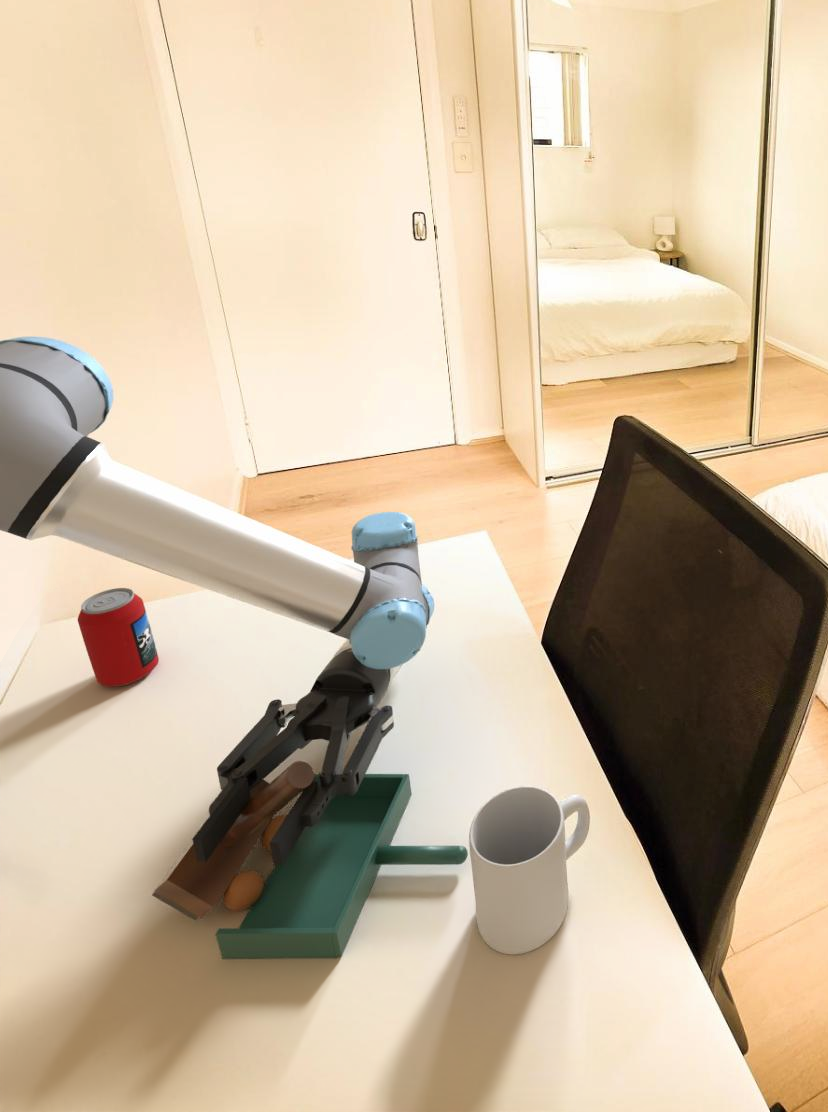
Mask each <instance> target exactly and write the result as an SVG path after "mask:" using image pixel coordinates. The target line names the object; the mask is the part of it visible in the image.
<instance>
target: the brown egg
mask: <svg viewBox="0 0 828 1112" xmlns="http://www.w3.org/2000/svg"><path fill="white" fill-rule="evenodd" d="M263 886H264V879H263V876H262V875H261V873H259V872H258V871H256V870H253V869H246V870H243V871H240V872H237V874H236V875H235V877H234V879H233V880H232V882H231V883H230V885H229V886H228V888H227V889H226V891H225V893H224V894H223V896H222V897H223V899H222V900H223V904H224V905H225V906H226V908H227V909H229V910H231V911H234V912H240V911H245V910H247V909H249V908H251V907H252V905H253V904H254V903H255V902H256V901H257V900H258V898H259V897H260V895H261V893H262V890H263Z"/></svg>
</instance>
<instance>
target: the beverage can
mask: <svg viewBox="0 0 828 1112" xmlns="http://www.w3.org/2000/svg"><path fill="white" fill-rule="evenodd" d="M149 620H150V619H149V618H148V614H147V610H146V607H145V603H144V600H143V598H142V597H140V596H139V595H137V594H136V593H135V592H134V591H133V589H131V588H128V587H116V588H110V589H106V590H104V591H100V592H98V593H96V594H93V595H92V596H90V597H88V598H86V599H84V601H83V602H82V604H81V606H80V612H79V613H78V616H77V623H78V627H79V630H80V633H81V636H82V640H83V643H84V646H85V651H86V653H87V656H88V658H89V661H90V665H91V668H92V672H93V674H94V678H95V680H96V682H97V683H98V684H99V685H101V686H103V687H104V686H105V687H121V686H127V685H130V684H132V683H135V682H138V681H140V680H142V679H143V678H145V677H146V676H147V675H149V674H150V673H151V672H152V671H153V670H154V669H155V668H156V667H157V666H158V664H159V661H160V659H159V655H158V651H157V646H156V642H155V638H154V635H153V631H152V628H151V624H150V621H149Z"/></svg>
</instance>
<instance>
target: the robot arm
mask: <svg viewBox="0 0 828 1112" xmlns="http://www.w3.org/2000/svg"><path fill="white" fill-rule="evenodd" d="M113 389H114V388H113V384H112V382H111V379H110V377H109V375H108V373H107V372H106V370H105V369H104V367H103V366H102V365H101V364H100V363H99V362H98V361H97V359H95V358H94V357H93V356H92V355H90V354H89V353H87V352H86V351H84V350H82V349H81V348H79V347H77V346H75V345H73V344H71V343H68V342H65V341H62V340H59V339H55V338H50V337H46V336H45V337H44V336H20V337H13V338H9V339H3V340H0V531H2V532H5V533H8V534H10V535H14V536H17V537H20V538H23V539H25V540H28V541H34V540H37V539H41V538H46V537H49V536H54V537H59V538H61V539H64V540H67V541H69V542H73V543H75V544H79V545H81V546H84V547H87V548H89V549H93V550H95V551H98V552H101V553H104V554H107V555H109V556H112V557H116V558H118V559H121V560H124V561H127V562H130V563H133V564H135V565H138V566H141V567H144V568H147V569H149V570H152V571H155V572H158V573H161V574H164V575H167V576H169V577H172V578H175V579H178V580H181V581H183V582H187V583H189V584H192V585H195V586H198V587H201V588H203V589H206V590H209V591H211V592H215V593H217V594H220V595H223V596H226V597H228V598H231V599H235V600H237V601H240V602H243V603H246V604H249V605H252V606H254V607H257V608H260V609H263V610H264V611H265V610H266V611H267V612H271V613H274V614H276V615H280V616H283V617H285V618H288V619H290V620H294V621H297V622H299V623H302V624H305V625H307V626H311V627H314V628H316V629H319V630H323V631H325V632H328V633H330V634H333V635H335V636H337V637H341V638H344V639H346V640H344V642H343V643H342V644H341V646H340V647H339V648H338V650H337V651H336V652H335V654H334V655H333V657H332V658H331V659H330V661H329V662H328V663H327V665H325V666H324V668H323V669H322V671H321V672H320V673H319V675H318V676H317V678H316V679H315V681H314V682H313V685H312V687H311V689H310V691H309V692H308V693H307V694H305V695H304V696H302V697H301V698H299V700H298V701H297V702H295V703H287V704H283V702H282V700H281V699H273V700H271V701H270V702H269V704H268V706H267V708H266V710H265V713H264V714H263V716H262V717H261V718H260V719H259V720H258V721H257V723H256V724H255V725H254V726H253V727H252V728H251V729H250V730H249V731H248V733H246V735H245V736H243V738H242V739H241V740H240V741H239V743H237V745H236V746H235V747H234V748H233V749H232V750H231V751H230V752H229V753H228V754H227V756H226V757H225V758H224V759H223V760H222V761H221V762H220V763H219V764H218V766H217V767H216V772H217V773H216V774H217V777H218V782H219V789H220V790H221V791H219V794H218V795H217V796H216V797H215V799H214V800H213V801H212V802H211V803H210V805H209V808H208V814H209V816H210V817H209V816H208V817H209V818H208V817H207V819H206V820H207V821H206V820H205V821H206V822H205V821H204V823H203V824H202V825H203V826H202V825H201V827H200V828H199V829H200V830H199V829H198V831H197V832H196V833H195V835H193V837H192V839H193V844H194V848H195V853H196V857H197V861H198V862H206V861H207V860H208V859H209V857H210V856H211V854H212V853H213V852H214V850H215V849H216V847H217V846H218V845H219V843H220V842H221V841H222V839H223V838H224V836H225V835H226V834H227V832H228V831H229V830H230V828H231V827H232V825H233V824H234V823H235V821H236V820H237V819H238V817H239V816H240V814H241V812H242V810H243V808H244V806H245V805H246V804H247V803H248V802H249V801H250V800H251V795H250V790H252V789H253V788H254V787H255V786H256V785H257V784H258V783H260V782H261V781H262V780H264V779H265V778H267V777H268V775H270V774H271V773H272V772H274V770H276V769H277V768H278V767H279V766H280V765H281V764H282V763H284V761H286V760H287V759H288V758H289V757H290V756H291V755H293V754H294V753H295V752H296V751H297V750H303V749H304V748H305V747H306V746H307V745H309V744H310V743H311V742H312V741H315V740H325V741H328V743H327V747H326V751H325V755H324V760H323V764H322V767H321V772H318V774H319V778H320V784H319V785H318V784H317V782H315V781H312V783H311V784H310V785H309V786H308V787H307V788H305V789H304V790H303V791H302V792H301V793H300V794H299V795H298V798H297V800H296V801H295V803H294V804H293V805H292V807H291V808H290V810H289V812H288V813H287V814H286V815H287V816H286V818H285V819H284V821H283V823H282V824H281V826H280V827H279V829H278V830H277V832H276V833H275V835H274V836H273V838H272V839H271V841H270V847H271V851H270V852H271V853H270V854H271V859H272V863H273V865H274V866H276V865H283V863H284V862H285V860H286V858H287V857H288V855H289V853H290V852H291V850H292V848H293V847H294V845H295V843H296V842H297V840H298V839H299V837H300V835H301V834H302V832H303V830H304V829H305V827H313V826H314V825H315V824H316V823H317V822H318V820H319V819H320V816H321V815H322V813H323V812H324V810H325V808H326V807H327V805H328V803H329V802H330V800H332V799H334V798H335V796H337V795H341V794H344V795H345V796H347V797H349V796H353V795H354V794H355V793H356V792H357V790H358V788H359V786H360V784H361V782H362V780H363V778H364V776H365V774H367V771H368V769H369V767H370V765H371V763H372V760H373V759H374V757H375V755H376V753H377V750H378V749H379V746H380V745H381V742H382V741H383V739H384V738H385V737H386V736H387V735H388V734H389V732H390V731H391V730H393V729H394V727H395V721H394V711H393V706H391V705H384V706H382V707H381V708H378V706H379V705H380V703H381V701H382V700H383V698H384V697H385V695H386V693H387V692H388V689H389V687H390V686H391V685H392V683H393V682H394V680H395V678H396V676H397V674H398V673H399V671H400V670H401V668H402V667H403V665H404V664H406V663H408V662H409V661H410V660H412V659H413V658H414V657H416V655H417V654H418V653H419V652H420V651H421V649H422V647H423V645H424V643H425V640H426V636H427V627H428V625H429V624H430V620H431V618H432V617H433V614H434V611H435V600H434V596H433V595H432V594H431V593H430V592H429V589H428V588H427V586H425V585H424V584H422V583H423V582H422V574H421V565H420V557H419V544H418V539H419V538H418V537H419V536H418V535H417V531H416V523H415V521H414V519H413V518H412V517H411V516H410V515H408V514H407V513H404V512H399V511H383V512H377V513H372V514H369V515H367V516H365V517H363V518H361V519H360V520H358V521H357V522H356V523H355V524H354V525H353V527H352V529H351V551H352V555H353V561H352V560H350V559H347V558H345V557H342V556H340V555H337V554H336V553H333V552H331V551H329V550H326V549H324V548H321V547H319V546H317V545H314V544H313V543H310V542H307V541H305V540H302V539H300V538H297V537H295V536H293V535H290V534H288V533H286V532H283V531H281V530H278V529H276V528H274V527H272V526H269V525H267V524H264V523H262V522H259V521H258V520H255V519H252V518H250V517H248V516H245V515H243V514H240V513H238V512H236V511H234V510H231V509H229V508H226V507H225V506H221V505H219V504H217V503H215V502H212V501H210V500H207V499H205V498H204V497H203V498H202V497H200V496H198V495H195V494H193V493H191V492H188V491H186V490H183V489H181V488H179V487H177V486H174V485H172V484H170V483H168V482H165V481H162V480H160V479H157V478H156V477H153V476H150V475H149V474H146V473H143V472H141V471H138V470H136V469H134V468H131V467H129V466H127V465H124V464H122V463H120V462H117V461H115V460H113V459H112V458H111V457H110V454H109V452H108V449H107V446H106V444H105V443H102V442H100V441H98V440H96V439H95V438H92V437H89V435H91V434H92V433H93V432H95V431H97V430H98V429H100V427H101V426H102V425H103V424H104V423H105V422H106V420H107V418H108V417H107V416H108V415H109V413H110V411H111V409H112V406H113V402H114V390H113ZM365 724H366V726H365V728H364V730H363V732H362V734H361V736H360V737H359V740H358V741H357V743H356V745H355V747H354V749H353V751H352V753H351V755H350V757H349V759H348V760H347V762H346V765H345V766H344V768H343V764H344V759H345V754H346V750H347V749H348V746H349V741H350V736H351V733H353V732H354V731H356V730H357V729H359V728H361V727H362V726H364V725H365ZM281 729H283V730H281ZM342 769H343V770H342Z"/></svg>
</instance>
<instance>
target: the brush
mask: <svg viewBox="0 0 828 1112" xmlns="http://www.w3.org/2000/svg"><path fill="white" fill-rule="evenodd" d="M314 774H315V772H314V769H313V767H312V766H311V764H310V763H308V762H306V761H302V760H297V761H294V762H293V763H291V764H290V765H289V766H288V767H287V768H286V769H284V770H283V771H281V773H279V774H278V776H276V777H275V778H274V779H273V780H272V781H271V782H268V781H266V780H264V779H263V780H262V781H261V782H260V783H258V784H257V785H256V786H255V787H254V788H253V789H252V790H250V795H251V800H250V801H249V802H248V803H247V804H246V805H245V806H244V808H243V810H242V812H241V814H240V816H239V817H238V819H237V820H236V821H235V823H234V824H233V825H232V827H231V828H230V830H229V831H228V832H227V834H226V835H225V836H224V838H223V839H222V841H221V842H220V843H219V845H218V846H217V847H216V849H215V850H214V852H213V853H212V854H211V856H210V857H209V859H208V860H207V861H206V862H198V861H197V857H196V853H195V848H194V844H193V838H191V840H190V842H189V843H188V844H187V845H186V847H185V848H184V850H183V851H182V852H181V854H180V855H179V856H178V858H177V859H176V860H175V862H174V863H173V865H171V867H170V869H168V871H167V872H166V874H165V875H164V877H163V878H162V880H161V881H160V882H159V883H158V885H157V886H156V888H155V889H154V891H153V893H152V894H151V896H152V897H154V898H155V899H157V900H159V901H161V902H163V903H164V904H166V905H167V906H169V907H171V908H172V909H174V910H176V911H178V912H180V913H182V914H183V915H185V916H186V917H188V918H190V919H191V920H194V921H197V920H198V919H199V918H200V919H203V918H204V917H206V916H207V915H208V914H210V913H211V912H212V911H213V910H214V909H215V908H216V907H217V905H218V904H219V902H220V901H221V899H222V897H223V894H224V893H225V891H226V889H227V888H228V886H229V885H230V883H231V882H232V880H233V879H234V877H235V875H237V874H238V873H239V871H240V869H241V867H243V864H244V863H245V861H247V858H248V857H249V855H250V854H251V852H252V850H253V849H254V847H255V846H256V845H257V843H258V841H259V840H260V837H261V835H262V833H263V832H264V830H265V829H266V827H267V825H268V824H269V822H270V821H271V819H273V818H274V817H275V815H276V814H277V813H279V812H280V811H281V810H282V809H284V808H285V807H286V806H287V805H288V804H289V803H290V802H291V801H293V800H294V799H295V798H296V797H298V796H299V795H301V793H302V792H303V790H304V789H305V788H307V787H308V786H309V785H310V784H311V783H312V781H313V778H314ZM209 817H210V815H209V816H208V817H207V819H208V818H209ZM207 819H206V820H205V821H204V823H205V822H206V821H207ZM202 826H203V824H202V825H201V827H202ZM199 830H200V828H199V829H198V831H199Z"/></svg>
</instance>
